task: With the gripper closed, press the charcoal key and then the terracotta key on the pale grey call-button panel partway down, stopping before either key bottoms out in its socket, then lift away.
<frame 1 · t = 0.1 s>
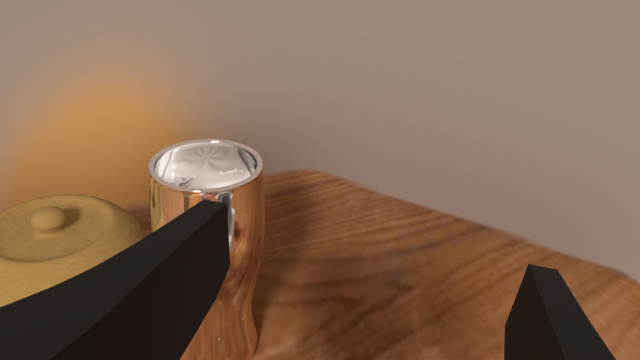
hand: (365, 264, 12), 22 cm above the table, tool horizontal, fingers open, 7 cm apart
beer glass: (215, 346, 38), on the table
pot: (73, 323, 39), on the table
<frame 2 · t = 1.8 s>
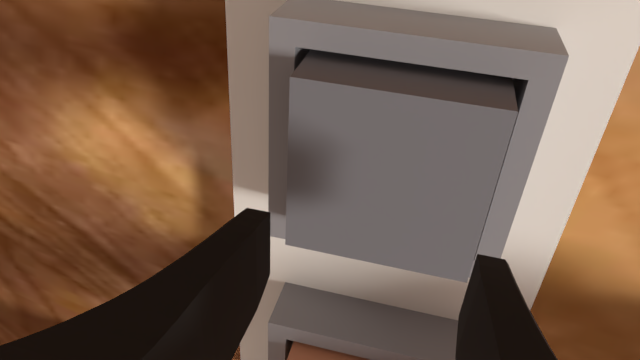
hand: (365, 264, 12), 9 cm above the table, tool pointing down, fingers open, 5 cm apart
charcoal key: (391, 162, 16), point 4 cm above the table, slide at 0.0 cm
button panel: (384, 233, 24), on the table
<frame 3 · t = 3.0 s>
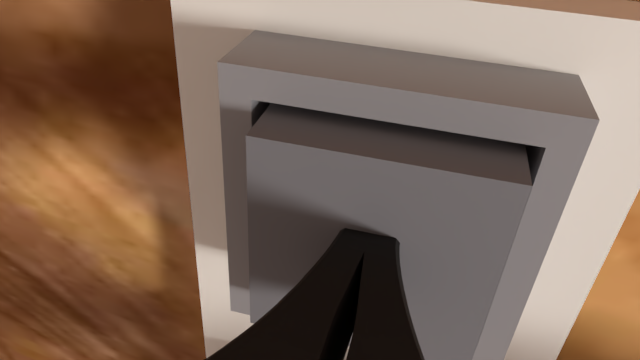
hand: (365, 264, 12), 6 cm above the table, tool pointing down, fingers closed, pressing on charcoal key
charcoal key: (376, 228, 14), point 4 cm above the table, slide at 0.4 cm, touching gripper
button panel: (372, 292, 21), on the table
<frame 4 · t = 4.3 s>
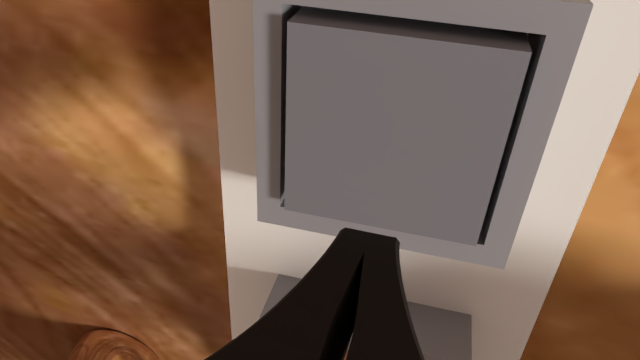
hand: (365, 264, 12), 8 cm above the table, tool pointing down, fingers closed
beer glass: (125, 359, 33), on the table
charcoal key: (395, 119, 16), point 4 cm above the table, slide at 1.0 cm
button panel: (385, 220, 22), on the table
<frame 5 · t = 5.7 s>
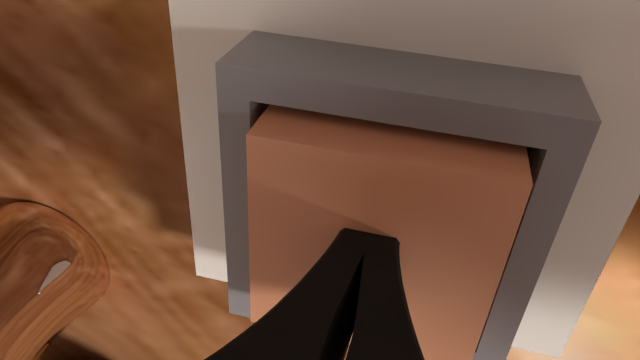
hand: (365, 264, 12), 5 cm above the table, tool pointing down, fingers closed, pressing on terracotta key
beer glass: (54, 251, 24), on the table
terracotta key: (376, 227, 14), point 4 cm above the table, slide at 0.5 cm, touching gripper
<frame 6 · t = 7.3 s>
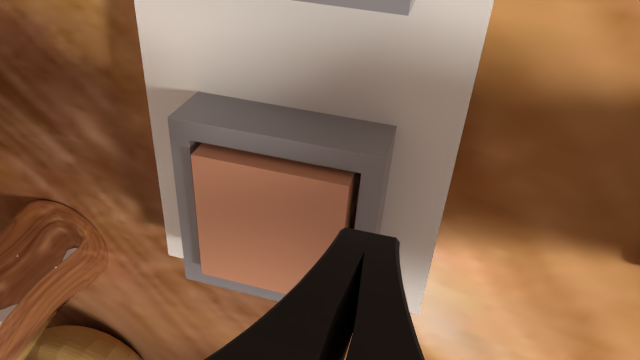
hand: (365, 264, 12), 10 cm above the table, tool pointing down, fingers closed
beer glass: (66, 238, 32), on the table
pot: (110, 356, 38), on the table
button panel: (310, 33, 21), on the table
terracotta key: (279, 212, 21), point 3 cm above the table, slide at 1.0 cm, touching button panel
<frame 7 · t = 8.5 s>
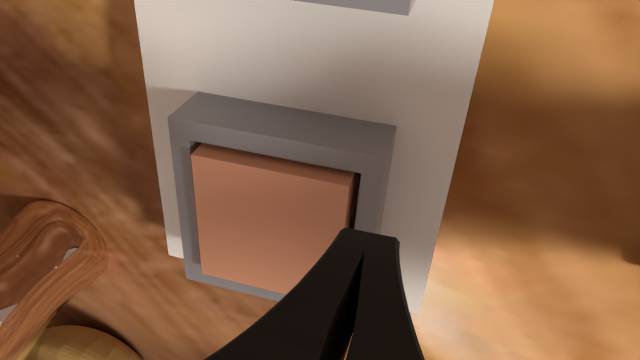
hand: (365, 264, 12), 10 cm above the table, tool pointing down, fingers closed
beer glass: (66, 238, 32), on the table
pot: (110, 356, 38), on the table
button panel: (310, 33, 21), on the table
terracotta key: (279, 212, 21), point 3 cm above the table, slide at 1.0 cm, touching button panel
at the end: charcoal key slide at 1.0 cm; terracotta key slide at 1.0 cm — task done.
